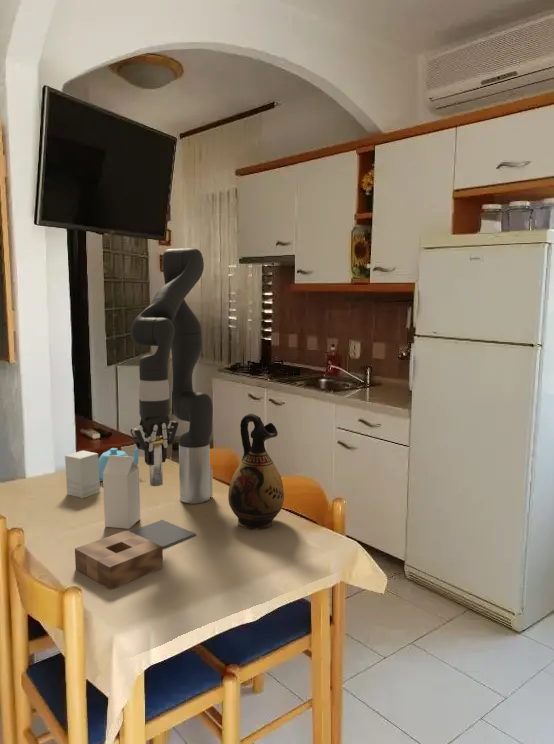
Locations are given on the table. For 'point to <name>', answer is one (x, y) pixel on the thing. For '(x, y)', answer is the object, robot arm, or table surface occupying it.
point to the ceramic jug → (256, 479)
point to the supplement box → (82, 474)
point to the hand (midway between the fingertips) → (155, 463)
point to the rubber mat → (163, 533)
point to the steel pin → (156, 463)
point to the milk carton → (121, 492)
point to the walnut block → (118, 558)
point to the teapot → (114, 452)
